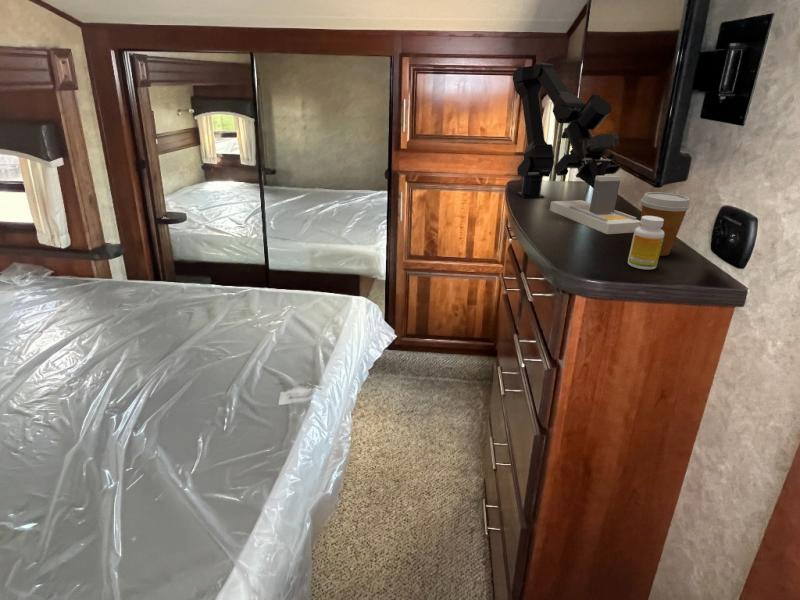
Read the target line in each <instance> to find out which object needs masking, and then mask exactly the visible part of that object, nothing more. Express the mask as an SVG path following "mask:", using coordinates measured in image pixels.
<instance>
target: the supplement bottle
mask: <svg viewBox="0 0 800 600" xmlns="http://www.w3.org/2000/svg"><path fill="white" fill-rule="evenodd" d="M639 221H640V224H641V226H640V227H637V228H636V229H635V232H633V236H632V240H631V245H630V250H629V253H628V259H627V264H628V265H629V266H631V267H632V268H636V269H639V270H649V271H650V270H654V269H656V268H657V267H658V263H659V258H660V256H659V255H660V251H661V247H662V243H663V239H664V231H663V230H661V227H662V226H663V222H664V219H662V218H660V217H655V216H642V218H641V217H640V220H639Z"/></svg>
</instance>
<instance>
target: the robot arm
mask: <svg viewBox="0 0 800 600" xmlns="http://www.w3.org/2000/svg"><path fill="white" fill-rule="evenodd" d="M512 82H513V86H514V90H515V92H516V93H517V95H518V96H519V97H520V98H521V102H522V110H523V117H524V118H523V119H524V125H525V126H524V127H525V132H526V134H525V135H526V140H527V147H526V148H525V150H524V152H523V160H522V161H521V162H520V164H519V165H518V167H517V168H516V169H517V175H518V176H520V177H523V178H522V187H521V191H517V194H518V195H520V196H521V197H522V198H529V199H530V198H540V199H541V198H545V195H543V194H541V191H542V185H543V178H544V177H547V178H548V177H550V176H551V172H552V170H553V167H554V171H555V174H556V176H558V177H561V176H567V174H568V173H569V170H568V169H577V174H575V177H576V178H578V179H579V180H580V179H581V180H582V181H583V182H584V183H586V184H588V186H589V187H591V188H593V189H594V183H595V178H596V176H605V175H615V174H616V173H617V172H619V171H620V169H621V168H620V167H619V166H617V165H615V164H614V163H613V162H612V160H613V157H614V154H615V153H610V154H609V155H608V156H607V157H606V158H602V157H604V156H605V155H606V154H607V151H608V150H610V149H615V147H616V146H618V145H619V143H620V138H619V137H620V136H618V134H617V132H610V133H599V134H597V135H595V136H594V135H593V134H592V131H591V130H593V131H594V130H596V129H598V128H599V127H600V125H601V124H602V123H603V122H604V120H605V119H606V118H607V117H608V116H609V115H610V114H611V113H612V106H611V104H610V103H609V102H608V101H607V100H606V99H604V98H602V97H601V96H600V94H597V93H595V94H591V95H590V97H589V98H588V100H587V102H584V101H583V100H582V99H580V97H578V96H576V95H575V94H572V93H571V92H570V91H569V89H568V88H567V86H566V85H565V84H564V82H563V80H562V79H561V77H560V76H559V74H558V72H556V69H555V66H554V64H552V63H545V62H543V63H541V62H539V63H535V64H534V65H528V66H521V65H519V66H518V67H517V68H516V70H514V71H513V74H512ZM542 88H543V90H544V91H545V93H546V95H547V96H548V97H549V100H551V102H552V104H553V106H552V113H553V116H554V119H555V120H556V122H557V123H558V124H566V125H567V124H568V125H567V126H566V127H564V129H563V132H562V133H561V139H568V142H569V144H570V146H571V150H569V153H565V154H564V155H563V156H562V157H561V158H560V159H559V160H558V162H557V163H556V164H555V160H554V159H555V154H554V146H553V144H551V143H547V142H546V140H545V133H544V126H543V125H544V124H543V117H542V111H541V104H540V92H541V90H542ZM614 159H615V158H614Z"/></svg>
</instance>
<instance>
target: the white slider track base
mask: <svg viewBox="0 0 800 600" xmlns="http://www.w3.org/2000/svg"><path fill="white" fill-rule="evenodd" d="M590 205H591V202H587V201H584V200H582V199H579V200H578V199H576V200H556V201H551V202H550V205H549V206H550V207H549V211H551V212H553V213H555V214H558V215H560V216H562V217H565V218H567V219H569V220H572V221H574V222H576V223H579V224H582V225H584V226H586V227H589V228H591V229H594V230H595V231H598V232H600V233H603V234H606V235H617V234H628V233H629V234H634V232H635V229H636V228H637V227H640V221H641V220H639V219H637V217H636V216H633V215H630V214H627V213H624V212H622V211H620V210H619V211H618V210H616V209H614V212H610V213H592V212H589V211H590Z"/></svg>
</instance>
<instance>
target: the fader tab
mask: <svg viewBox="0 0 800 600" xmlns="http://www.w3.org/2000/svg"><path fill="white" fill-rule="evenodd" d="M621 179H622V176H620V175H616V174H605V176H596V178H595V183H594V188H593V190H592V194H591V199H590V203H591V205H590V211H589V212H592V213H610V212H614V210H616V208H615V207H616V204H617V198H618V194H619V188H620V184H621Z"/></svg>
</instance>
